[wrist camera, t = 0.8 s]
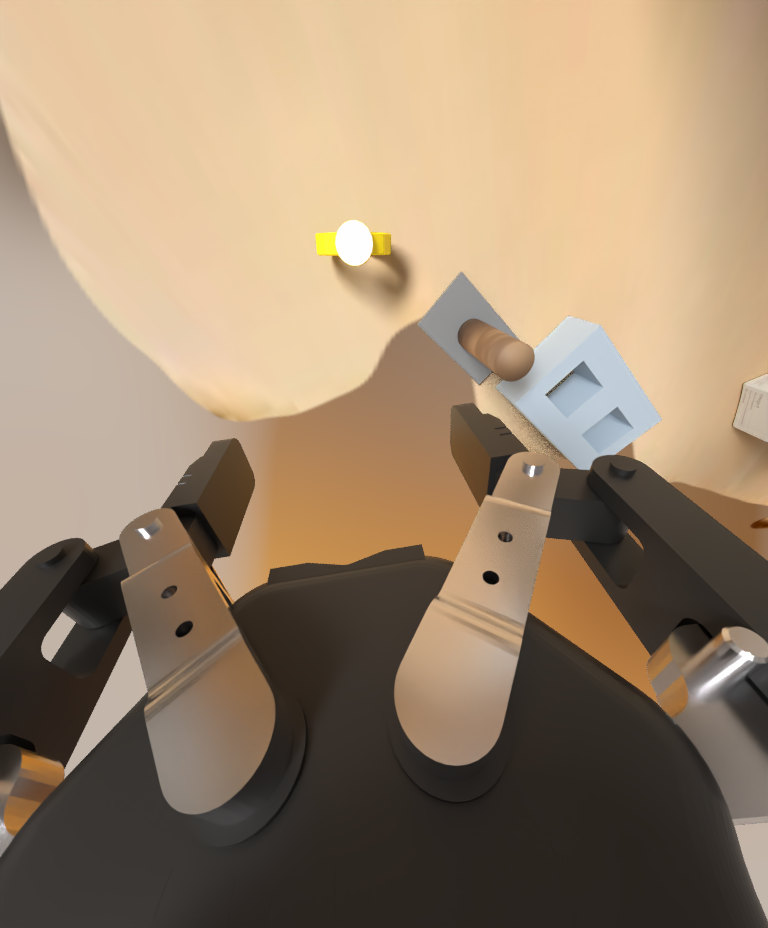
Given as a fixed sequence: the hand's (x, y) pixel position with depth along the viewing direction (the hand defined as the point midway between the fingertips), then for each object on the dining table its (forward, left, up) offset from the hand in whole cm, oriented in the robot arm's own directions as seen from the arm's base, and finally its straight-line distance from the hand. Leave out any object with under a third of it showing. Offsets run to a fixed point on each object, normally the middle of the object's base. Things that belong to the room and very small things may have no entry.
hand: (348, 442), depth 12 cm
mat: (-8, +11, -23) cm, 27 cm away
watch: (-6, -3, -24) cm, 24 cm away
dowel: (-8, +11, -23) cm, 26 cm away
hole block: (-11, +26, -23) cm, 36 cm away
